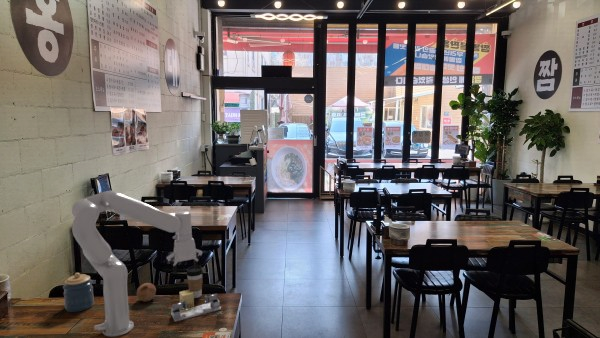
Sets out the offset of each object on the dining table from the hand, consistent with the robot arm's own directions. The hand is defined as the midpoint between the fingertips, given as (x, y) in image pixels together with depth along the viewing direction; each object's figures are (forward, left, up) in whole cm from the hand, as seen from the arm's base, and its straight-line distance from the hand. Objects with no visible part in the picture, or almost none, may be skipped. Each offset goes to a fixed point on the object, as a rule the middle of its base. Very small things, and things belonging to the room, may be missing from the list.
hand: (185, 270), depth 193 cm
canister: (-46, +29, -19) cm, 58 cm away
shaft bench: (+2, -9, -18) cm, 20 cm away
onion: (-16, +18, -19) cm, 31 cm away
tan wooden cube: (0, 0, -18) cm, 18 cm away
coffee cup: (+7, +9, -19) cm, 22 cm away
